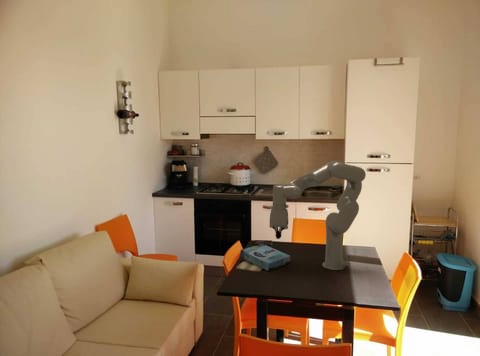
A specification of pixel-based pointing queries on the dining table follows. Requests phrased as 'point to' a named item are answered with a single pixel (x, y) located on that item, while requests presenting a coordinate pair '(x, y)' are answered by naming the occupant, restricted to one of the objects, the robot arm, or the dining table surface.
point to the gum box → (265, 257)
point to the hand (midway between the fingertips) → (278, 238)
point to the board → (249, 266)
